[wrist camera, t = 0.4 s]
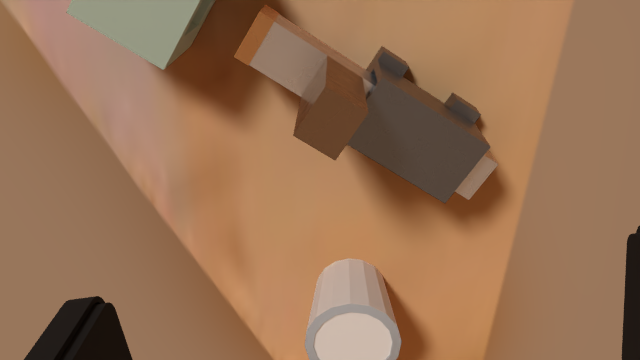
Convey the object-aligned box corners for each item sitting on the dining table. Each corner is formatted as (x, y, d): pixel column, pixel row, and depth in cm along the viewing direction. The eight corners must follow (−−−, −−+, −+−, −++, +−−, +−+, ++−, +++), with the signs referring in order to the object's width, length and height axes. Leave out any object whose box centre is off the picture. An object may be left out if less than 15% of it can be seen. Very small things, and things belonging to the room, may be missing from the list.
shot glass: (371, 238, 46) (376, 290, 40) (406, 304, 48) (417, 363, 42) (293, 271, 47) (287, 326, 41) (331, 333, 50) (330, 394, 43)
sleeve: (381, 46, 40) (389, 67, 34) (475, 107, 42) (498, 137, 36) (333, 117, 42) (333, 148, 36) (424, 173, 44) (438, 211, 38)
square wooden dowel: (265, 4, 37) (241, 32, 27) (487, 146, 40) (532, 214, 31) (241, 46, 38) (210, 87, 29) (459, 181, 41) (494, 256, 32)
